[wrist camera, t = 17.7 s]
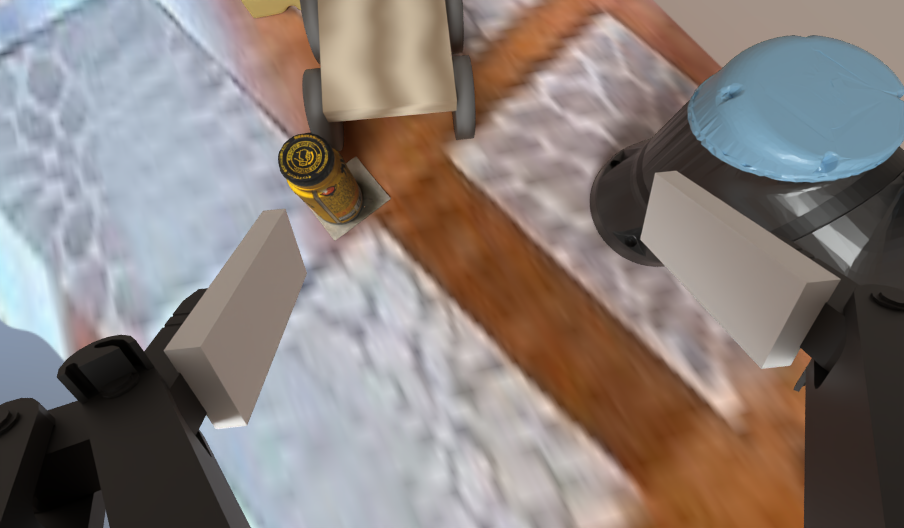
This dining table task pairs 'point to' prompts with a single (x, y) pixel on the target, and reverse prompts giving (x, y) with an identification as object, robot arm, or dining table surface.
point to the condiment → (329, 183)
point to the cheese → (269, 6)
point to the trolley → (385, 63)
